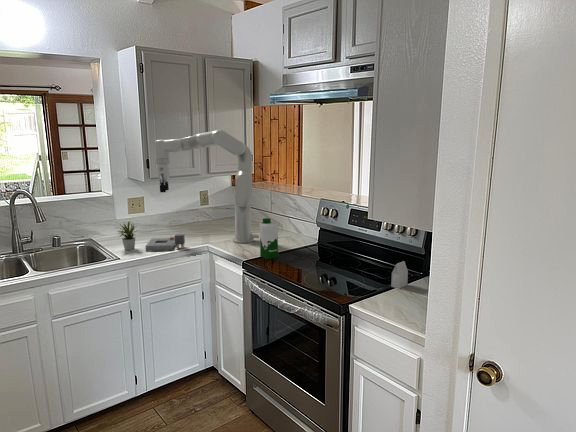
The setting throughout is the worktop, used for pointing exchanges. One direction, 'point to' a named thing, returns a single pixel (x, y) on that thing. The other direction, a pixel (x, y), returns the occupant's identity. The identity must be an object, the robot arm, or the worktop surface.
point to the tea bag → (399, 275)
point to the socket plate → (160, 244)
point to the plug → (180, 240)
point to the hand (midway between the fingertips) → (164, 191)
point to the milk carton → (268, 239)
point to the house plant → (128, 236)
